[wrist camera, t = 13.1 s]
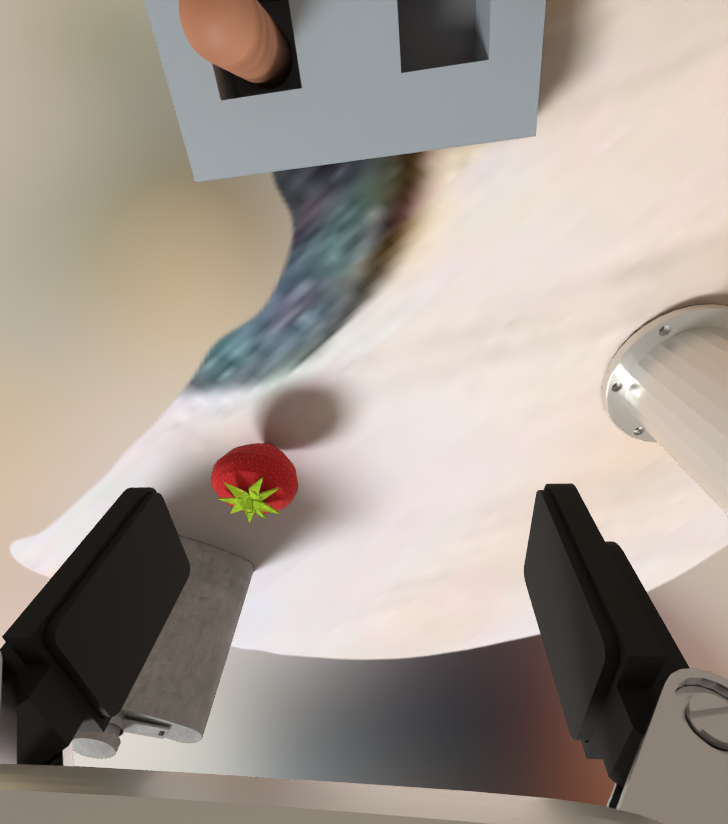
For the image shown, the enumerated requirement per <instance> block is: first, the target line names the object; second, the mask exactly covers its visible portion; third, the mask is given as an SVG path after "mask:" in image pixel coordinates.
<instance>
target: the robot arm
mask: <svg viewBox="0 0 728 824" xmlns="http://www.w3.org/2000/svg"><path fill="white" fill-rule="evenodd" d="M602 402H603V406H604V409H605V411H606V413H607V415H608V417H609V418H610V420H611V421H612V422H613V423H614V424H615V426H616V427H617V428H619V429H620V430H621V431H622V432H624V433H625V434H627V435H629V436H630V437H632V438H635V439H639V440H643V441H646V442H658V443H659V444H660V445H661V446H662V447H663V448H664V449H665V450H666V451H667V452H668V454H669V455H670V456H671V457H672V458H673V459H674V460H675V461H676V462H677V463H678V464H679V465H680V466H681V467H682V468H683V469H684V470H685V471H686V472H687V473H688V474H689V475H690V476H691V478H692V479H693V480H694V481H695V482H696V483H697V484H698V485H699V486H700V487H701V488H702V489H703V490H704V491H705V492H706V493H707V494H708V495H709V496H710V497H711V498H712V499H713V501H714V502H715V503H716V504H717V505H718V506H719V507H720V508H721V509H722V510H723V511H724V512H725V513H726V514H727V515H728V306H725V305H715V304H703V305H693V306H689V307H685V308H681V309H677V310H674V311H672V312H670V313H667V314H665V315H663V316H660V317H658V318H657V319H655V320H653V321H652V322H650V323H648V324H647V325H645V326H643V327H642V328H641V329H640V330H638V331H637V332H636V333H635V334H633V335H632V336H631V337H630V338H629V339H628V340H627V341H626V342H625V343H624V344H623V345H622V346H621V348H620V349H619V350H618V352H617V353H616V354H615V356H614V357H613V359H612V360H611V362H610V364H609V366H608V368H607V371H606V373H605V376H604V380H603V384H602ZM189 574H190V563H189V560H188V558H187V555H186V553H185V550H184V548H183V545H182V543H181V541H180V538H179V536H178V533H177V531H176V528H175V526H174V524H173V521H172V519H171V516H170V514H169V511H168V509H167V506H166V504H165V502H164V499H163V497H162V495H161V494H160V493H157V492H156V490H155V489H153V488H128V489H126V490H125V491H124V492H123V493H122V494H121V496H120V497H119V498H118V499H117V500H116V502H115V503H114V504H113V505H112V506H111V508H110V509H109V510H108V511H107V512H106V514H105V515H104V516H103V517H102V518H101V520H100V521H99V522H98V523H97V524H96V525H95V527H94V528H93V529H92V530H91V531H90V533H89V534H88V535H87V536H86V537H85V539H84V540H83V541H82V542H81V543H80V545H79V546H78V547H77V548H76V549H75V551H74V552H73V553H72V554H71V555H70V557H69V558H68V559H67V560H66V561H65V562H64V564H63V565H62V566H61V567H60V568H59V570H58V571H57V572H56V573H55V574H54V576H53V577H52V578H51V579H50V581H49V582H48V583H47V584H46V585H45V586H44V588H43V589H42V590H41V591H40V592H39V594H38V595H37V596H36V597H35V598H34V599H33V601H32V602H31V603H30V604H29V606H28V607H27V608H26V609H25V610H24V611H23V613H22V614H21V615H20V616H19V617H18V619H17V620H16V621H15V622H14V623H13V625H12V626H11V627H10V628H9V629H8V630H7V632H6V633H5V634H4V635H3V636H2V637H3V639H4V640H5V641H6V643H5V644H4V645H3V646H2V648H1V649H0V824H728V679H725V678H723V677H721V676H719V675H717V674H714V673H712V672H709V671H705V670H701V669H696V668H689V666H688V664H687V663H686V661H685V659H684V658H683V656H682V654H681V652H680V650H679V649H678V647H677V645H676V643H675V641H674V640H673V638H672V636H671V634H670V633H669V631H668V629H667V627H666V626H665V624H664V622H663V620H662V619H661V617H660V616H659V613H658V612H657V610H656V608H655V607H654V605H653V603H652V601H651V599H650V597H649V596H648V594H647V592H646V590H645V589H644V587H643V585H642V583H641V582H640V580H639V578H638V576H637V575H636V573H635V571H634V569H633V568H632V566H631V564H630V562H629V561H628V559H627V557H626V555H625V553H624V552H623V550H622V549H621V547H620V546H619V545H618V544H617V543H615V542H605V541H604V539H603V537H602V535H601V533H600V532H599V530H598V528H597V526H596V524H595V522H594V520H593V519H592V517H591V515H590V513H589V511H588V509H587V507H586V505H585V504H584V502H583V500H582V498H581V496H580V494H579V492H578V490H577V489H576V487H575V486H574V485H573V484H546V486H545V488H544V490H538V491H537V493H536V499H535V505H534V511H533V517H532V523H531V529H530V535H529V541H528V547H527V553H526V559H525V565H524V577H525V582H526V586H527V589H528V593H529V596H530V599H531V603H532V606H533V610H534V613H535V616H536V620H537V623H538V627H539V630H540V633H541V637H542V640H543V643H544V647H545V650H546V654H547V657H548V660H549V663H550V667H551V671H552V674H553V677H554V681H555V684H556V687H557V691H558V694H559V698H560V701H561V705H562V708H563V711H564V715H565V718H566V722H567V725H568V728H569V731H570V733H571V736H572V738H573V739H575V740H581V742H582V745H583V748H584V751H585V755H586V758H587V759H603V761H604V764H605V767H606V770H607V773H608V776H609V777H610V778H611V779H612V780H613V781H614V782H615V786H614V788H613V791H612V794H611V796H610V799H609V802H608V804H607V807H605V806H601V805H593V804H587V803H580V802H573V801H566V800H559V799H550V798H539V797H528V796H516V795H504V794H493V793H483V792H471V791H458V790H444V789H443V790H442V789H429V788H414V787H399V786H384V785H371V784H355V783H341V782H326V781H310V780H295V779H279V778H264V777H263V778H262V777H248V776H231V775H215V774H198V773H183V772H166V771H165V772H164V771H148V770H131V769H113V768H96V767H79V766H74V759H73V748H72V740H73V738H74V736H75V734H76V733H77V731H78V729H80V731H88V732H104V731H105V729H106V728H107V726H108V724H109V722H110V720H111V718H112V717H114V716H115V715H117V714H118V713H119V712H120V710H121V709H122V707H123V705H124V703H125V701H126V699H127V697H128V695H129V693H130V691H131V690H132V688H133V686H134V684H135V682H136V680H137V678H138V676H139V674H140V672H141V670H142V668H143V666H144V664H145V662H146V660H147V658H148V656H149V654H150V652H151V650H152V648H153V646H154V644H155V642H156V641H157V639H158V637H159V635H160V633H161V631H162V629H163V627H164V625H165V623H166V621H167V619H168V617H169V615H170V613H171V611H172V609H173V607H174V605H175V603H176V601H177V599H178V597H179V595H180V593H181V592H182V590H183V588H184V586H185V584H186V582H187V580H188V577H189Z"/></svg>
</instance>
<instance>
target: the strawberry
mask: <svg viewBox="0 0 728 824" xmlns="http://www.w3.org/2000/svg"><path fill="white" fill-rule="evenodd" d="M211 484H212V486H213V489H214V490H215V492H216V493H217V494H218V495H219V497H220V498H217V499H218V500H221V501H224V502H226V503H227V504H229V505H230V506H232V507H233V509H232V511H231V513H230V514H232V513H235V512H238V511H244V512H245V514H246V517H247V519H248V522H249V523H250V521H251V519H252V517H253V515H254V513H256V514H258V515H259V516H261V517H263V518H264V519H266V516H265V515H264V514H263V513H270V512H271V513H276V514H280V512H278V510H280V509H283V508H285V507H286V506H288V505H289V504H290V502H291V501H292V500H293V498H294V496H295V495H296V493H297V490H298V481H297V475H296V470H295V467H294V465H293V464H292V462H291V461H290V460H289V459H288V458H287V457H286V456H285V454H284V453H283V452H282V451H280V450H279V449H277V448H276V447H275V446H274V445H272V444H270V443H263V444H260V443H257V444H250V445H244V446H240V447H236V448H234V449H232V450H231V451H229V452H228V453H227V454H226V455H224V456H223V457H222V458H220V459H219V460H218V461H217V462H216V463H215V465H214V468H213V471H212V477H211Z"/></svg>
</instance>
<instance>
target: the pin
mask: <svg viewBox="0 0 728 824" xmlns="http://www.w3.org/2000/svg"><path fill="white" fill-rule="evenodd" d="M179 16H180V21H181V25H182V28H183V31H184V34H185V36H186V38H187V40H188V41H189V43H190V45H191V46H192V47H193V49H194V50H195V51H196V52H197V53H198V54H199V55H200V56H201V57H202V58H204V59H205V60H207V61H209V62H211V63H213V64H215V65H217V66H219V67H221V68H223V69H225V70H227V71H229V72H231V73H233V74H235V75H237V76H239V77H241V78H243V79H245V80H247V81H249V82H251V83H253V84H255V85H257V86H259V87H261V88H265V89H274V88H277V87H279V86H281V85H282V84H283V83H284V82H285V81H286V80H287V78H288V77H289V75H290V72H291V69H292V63H293V54H292V48H291V45H290V42H289V40H288V38H287V36H286V34H285V33H284V31H283V30H282V29H281V28H280V27H279V26H278V24H277V23H276V22H275V21H274V20H273V19H272V17H271V16H270V15H269V14H268V13H267V12H266V10H265V9H264V8H263V7H262V6H261V4H260V3H259V2H258V1H257V0H179Z"/></svg>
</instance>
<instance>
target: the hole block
mask: <svg viewBox="0 0 728 824" xmlns="http://www.w3.org/2000/svg"><path fill="white" fill-rule="evenodd" d="M257 1H258V2H259V3H260V4H261V6H262V7H263V8H264V9H265V10H266V12H267V13H268V14H269V15H270V16H271V17H272V19H273V20H274V21H275V22H276V23H277V24H278V26H279V27H280V28H281V29H282V30H283V31H284V33H285V34H286V36H287V38H288V40H289V42H290V45H291V48H292V54H293V63H292V69H291V72H290V75H289V77H288V78H287V80H286V81H285V82H284V83H283V84H282V85H281V86H279V87H277V88H274V89H265V88H261V87H259V86H257V85H255V84H253V83H251V82H249V81H247V80H245V79H243V78H241V77H239V76H237V75H235V74H233V73H231V72H229V71H227V70H225V69H223V68H221V67H219V66H217V65H215V64H213V63H211V62H209V61H207V60H205V59H204V58H202V57H201V56H200V55H199V54H198V53H197V52H196V51H195V50H194V49H193V47H192V46H191V45H190V43H189V41H188V40H187V38H186V36H185V34H184V31H183V28H182V25H181V21H180V16H179V0H144V2H145V5H146V9H147V12H148V16H149V19H150V23H151V26H152V30H153V34H154V37H155V40H156V44H157V48H158V51H159V55H160V58H161V62H162V65H163V69H164V73H165V76H166V80H167V83H168V86H169V90H170V94H171V97H172V101H173V104H174V108H175V112H176V115H177V119H178V122H179V126H180V129H181V132H182V136H183V140H184V143H185V147H186V151H187V154H188V158H189V161H190V164H191V168H192V172H193V175H194V179H195V182H199V181H207V180H215V179H222V178H229V177H237V176H244V175H252V174H258V173H266V172H274V171H281V170H289V169H296V168H303V167H311V166H318V165H326V164H333V163H340V162H348V161H355V160H363V159H370V158H377V157H385V156H392V155H400V154H407V153H414V152H422V151H429V150H437V149H444V148H451V147H459V146H466V145H474V144H481V143H488V142H496V141H503V140H511V139H518V138H525V137H533V136H536V126H537V113H538V100H539V87H540V73H541V60H542V47H543V34H544V21H545V8H546V0H257Z"/></svg>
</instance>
